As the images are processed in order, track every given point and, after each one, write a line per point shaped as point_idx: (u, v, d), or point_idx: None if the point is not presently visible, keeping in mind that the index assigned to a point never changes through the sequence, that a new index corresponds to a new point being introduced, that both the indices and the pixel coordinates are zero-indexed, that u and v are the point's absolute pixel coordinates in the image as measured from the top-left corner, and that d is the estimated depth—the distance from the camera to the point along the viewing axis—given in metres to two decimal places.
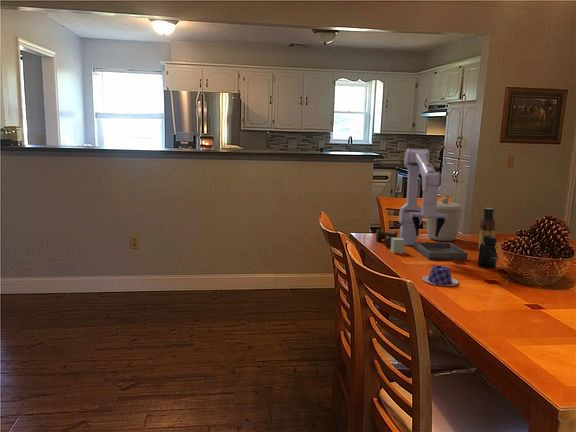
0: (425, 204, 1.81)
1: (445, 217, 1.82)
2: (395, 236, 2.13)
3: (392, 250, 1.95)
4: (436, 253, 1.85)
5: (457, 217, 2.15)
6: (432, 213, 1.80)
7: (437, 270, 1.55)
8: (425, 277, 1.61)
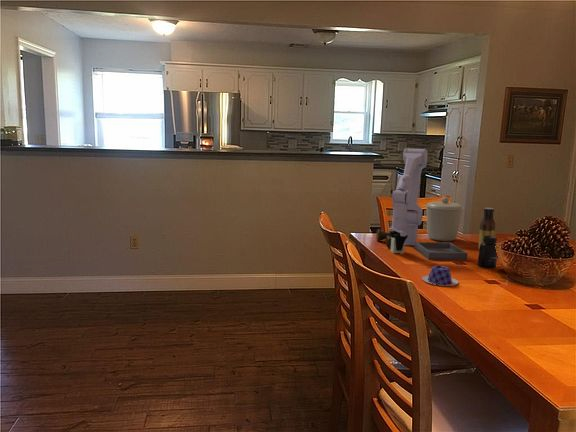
0: None
1: (400, 233, 1.88)
2: None
3: (392, 250, 1.95)
4: (436, 253, 1.85)
5: (457, 217, 2.15)
6: (393, 227, 1.93)
7: (437, 270, 1.55)
8: (425, 277, 1.61)
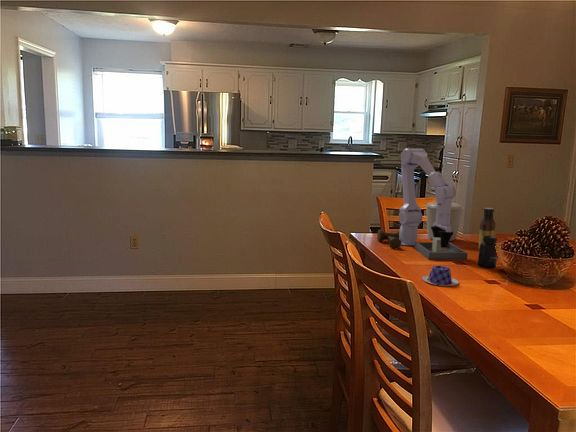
0: None
1: (445, 229, 1.86)
2: (397, 236, 2.13)
3: (434, 250, 1.94)
4: (436, 253, 1.85)
5: (457, 217, 2.15)
6: (437, 223, 1.91)
7: (438, 270, 1.55)
8: (425, 277, 1.61)
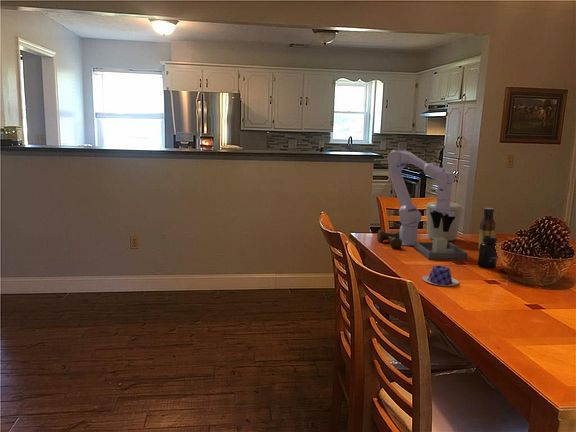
0: None
1: (448, 214, 1.91)
2: (397, 236, 2.12)
3: (434, 250, 1.94)
4: (436, 253, 1.85)
5: (457, 217, 2.15)
6: (438, 208, 1.96)
7: (439, 270, 1.55)
8: (425, 278, 1.60)
